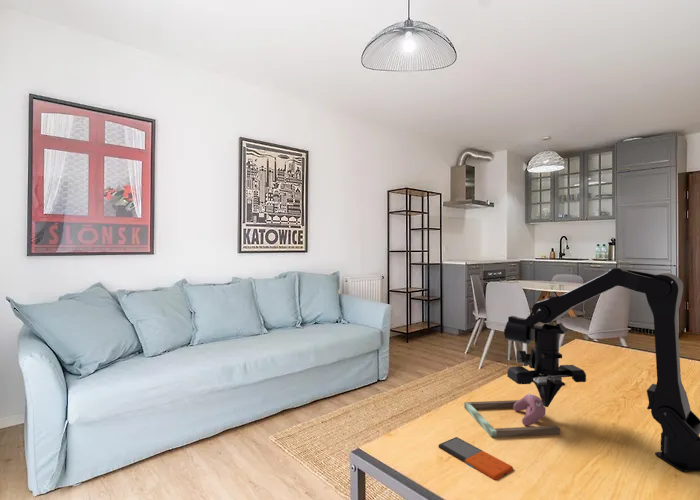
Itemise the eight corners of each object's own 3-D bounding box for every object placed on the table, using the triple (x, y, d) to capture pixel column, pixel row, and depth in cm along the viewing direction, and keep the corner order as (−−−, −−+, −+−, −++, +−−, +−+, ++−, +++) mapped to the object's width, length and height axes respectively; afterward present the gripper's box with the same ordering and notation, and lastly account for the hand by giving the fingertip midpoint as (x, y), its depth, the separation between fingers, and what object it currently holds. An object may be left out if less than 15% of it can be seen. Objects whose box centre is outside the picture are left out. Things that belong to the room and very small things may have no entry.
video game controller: (538, 433, 97) (552, 409, 97) (521, 424, 98) (535, 400, 97) (526, 415, 107) (538, 393, 106) (510, 407, 108) (523, 385, 107)
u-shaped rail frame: (559, 434, 94) (559, 427, 94) (491, 437, 92) (491, 431, 92) (522, 405, 110) (522, 399, 110) (464, 407, 109) (464, 402, 109)
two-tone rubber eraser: (495, 477, 76) (437, 443, 88) (495, 483, 76) (437, 449, 88) (514, 466, 79) (456, 435, 92) (514, 472, 79) (456, 440, 92)
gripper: (560, 338, 111) (559, 392, 111) (497, 340, 109) (497, 395, 109) (588, 350, 100) (587, 410, 100) (518, 352, 98) (518, 413, 98)
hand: (545, 406), depth 102 cm, fingers closed
